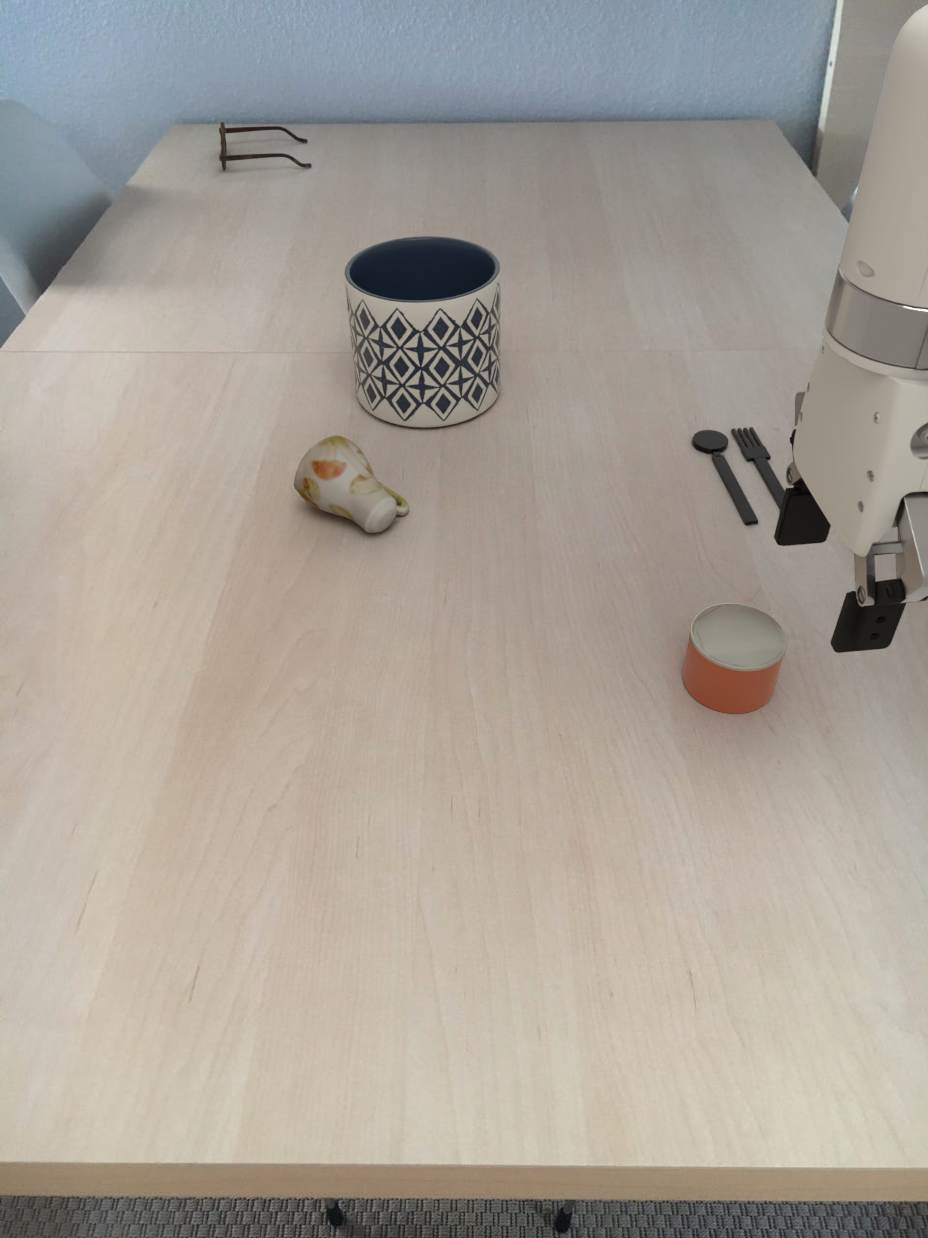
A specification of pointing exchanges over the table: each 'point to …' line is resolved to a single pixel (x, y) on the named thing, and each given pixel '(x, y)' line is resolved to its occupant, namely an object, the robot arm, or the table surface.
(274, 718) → the table surface
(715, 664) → the orange cup
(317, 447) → the mug
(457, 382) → the planter
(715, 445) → the spoon
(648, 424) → the table surface
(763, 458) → the fork
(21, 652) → the table surface
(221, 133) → the eyeglasses
